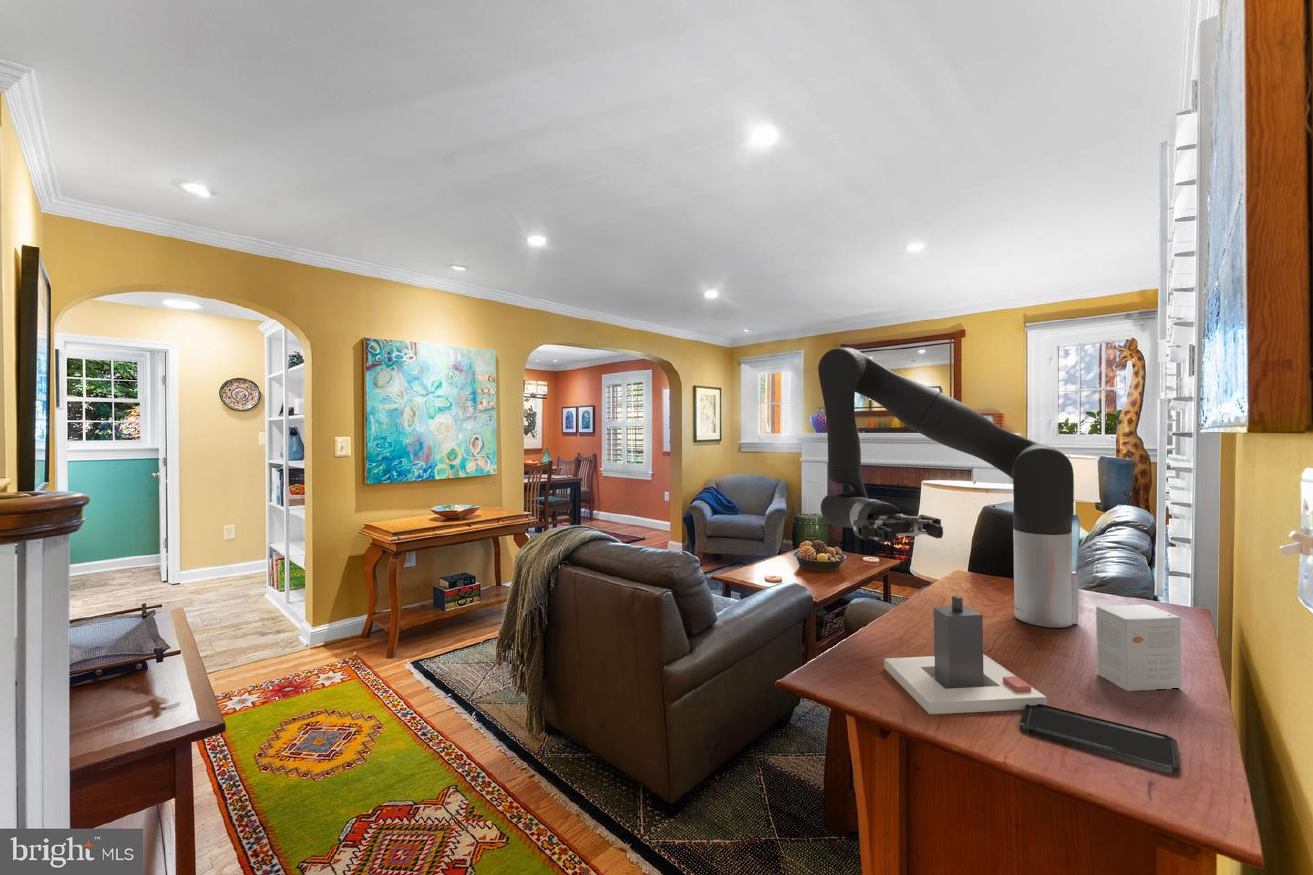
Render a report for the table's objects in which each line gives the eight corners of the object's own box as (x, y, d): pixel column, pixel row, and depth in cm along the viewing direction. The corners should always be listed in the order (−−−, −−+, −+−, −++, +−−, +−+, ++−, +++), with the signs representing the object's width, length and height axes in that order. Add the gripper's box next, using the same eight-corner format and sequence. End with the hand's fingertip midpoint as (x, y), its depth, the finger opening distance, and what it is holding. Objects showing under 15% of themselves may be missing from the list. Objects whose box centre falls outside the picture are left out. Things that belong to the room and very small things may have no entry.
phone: (1027, 700, 77) (1176, 737, 67) (1027, 708, 77) (1176, 746, 67) (1018, 725, 71) (1180, 769, 61) (1018, 734, 71) (1180, 780, 61)
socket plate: (983, 663, 90) (983, 648, 90) (1046, 708, 76) (1046, 690, 76) (884, 668, 90) (884, 653, 90) (929, 714, 76) (929, 696, 76)
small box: (1148, 672, 85) (1148, 603, 85) (1182, 690, 80) (1182, 616, 79) (1095, 674, 85) (1094, 605, 85) (1125, 692, 80) (1125, 618, 80)
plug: (967, 677, 85) (966, 592, 85) (983, 690, 81) (982, 600, 81) (935, 679, 85) (933, 593, 84) (949, 692, 81) (947, 602, 80)
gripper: (838, 503, 111) (872, 515, 95) (909, 497, 112) (955, 508, 95) (841, 541, 111) (875, 559, 95) (912, 535, 112) (958, 552, 96)
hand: (915, 534), depth 95 cm, fingers open, 8 cm apart
